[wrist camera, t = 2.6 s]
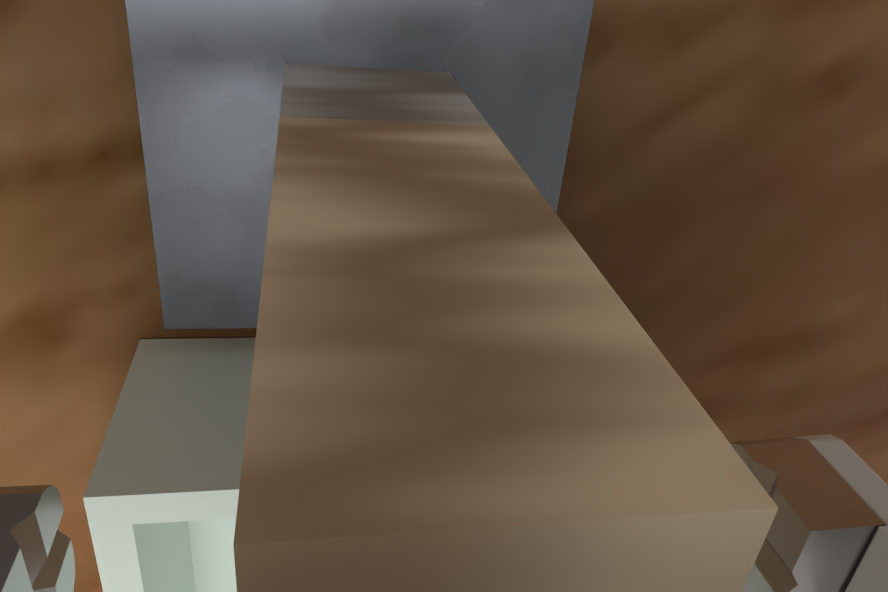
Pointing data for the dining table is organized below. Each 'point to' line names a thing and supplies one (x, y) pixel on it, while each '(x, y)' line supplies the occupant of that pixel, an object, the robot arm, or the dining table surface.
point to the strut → (460, 376)
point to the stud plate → (259, 101)
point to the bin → (173, 468)
